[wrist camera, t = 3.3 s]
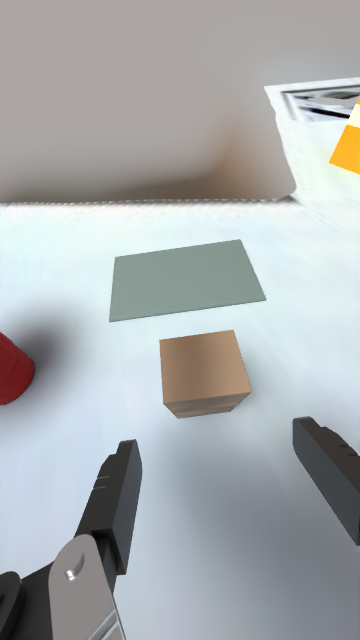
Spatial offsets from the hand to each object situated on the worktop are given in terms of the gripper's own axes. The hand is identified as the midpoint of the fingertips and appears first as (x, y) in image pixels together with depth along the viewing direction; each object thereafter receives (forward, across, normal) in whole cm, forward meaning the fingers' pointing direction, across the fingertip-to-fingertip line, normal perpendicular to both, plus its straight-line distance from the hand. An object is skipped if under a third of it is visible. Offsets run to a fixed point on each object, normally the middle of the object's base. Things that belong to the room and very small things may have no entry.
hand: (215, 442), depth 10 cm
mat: (+20, 0, -8) cm, 22 cm away
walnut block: (+9, 0, +3) cm, 10 cm away
